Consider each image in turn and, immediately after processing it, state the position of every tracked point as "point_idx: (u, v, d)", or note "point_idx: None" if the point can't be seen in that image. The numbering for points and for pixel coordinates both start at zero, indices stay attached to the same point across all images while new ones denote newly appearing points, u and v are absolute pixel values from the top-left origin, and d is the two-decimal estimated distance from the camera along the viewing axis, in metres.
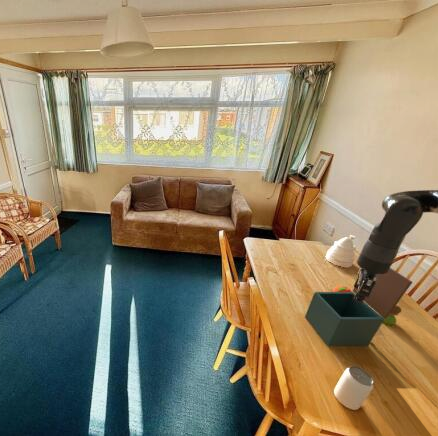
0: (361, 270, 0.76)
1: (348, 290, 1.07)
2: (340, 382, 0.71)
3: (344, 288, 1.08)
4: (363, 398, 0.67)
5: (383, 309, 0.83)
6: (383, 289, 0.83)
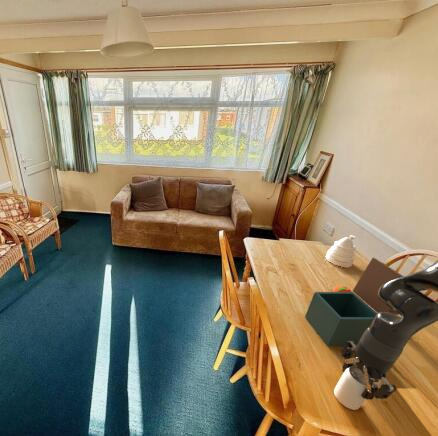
0: (360, 361, 0.66)
1: (348, 290, 1.07)
2: (340, 382, 0.71)
3: (344, 288, 1.08)
4: (363, 398, 0.67)
5: (383, 309, 0.83)
6: None
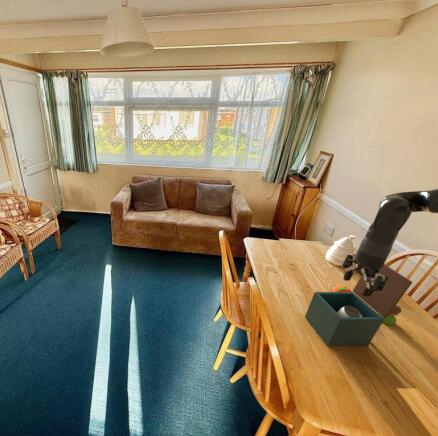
0: (358, 266, 0.82)
1: (348, 290, 1.07)
2: None
3: (344, 288, 1.08)
4: None
5: (383, 309, 0.83)
6: (383, 289, 0.83)
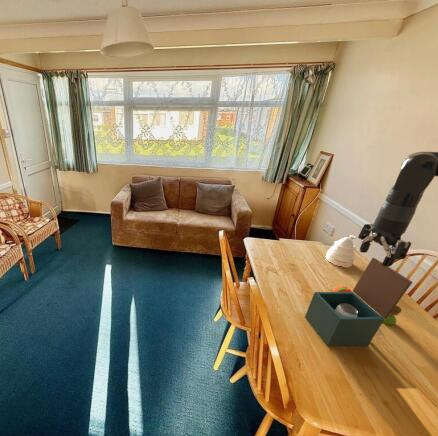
0: (377, 235, 0.77)
1: (348, 290, 1.07)
2: None
3: (344, 288, 1.08)
4: None
5: (383, 309, 0.83)
6: (383, 289, 0.83)
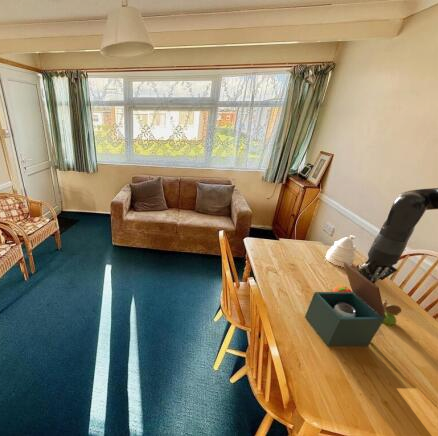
0: None
1: (348, 290, 1.07)
2: None
3: (344, 288, 1.08)
4: None
5: (378, 310, 0.83)
6: (367, 292, 0.84)
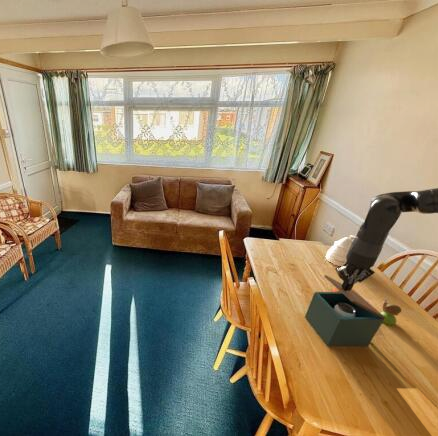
0: None
1: None
2: None
3: None
4: None
5: None
6: (355, 299, 0.85)
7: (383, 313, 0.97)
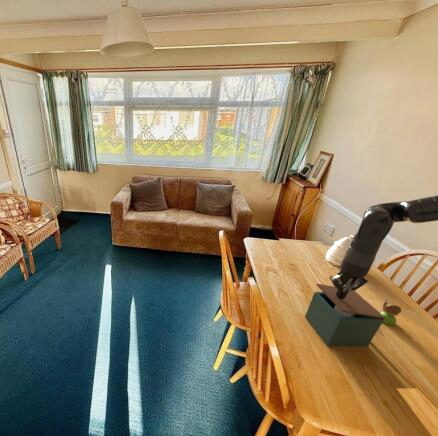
0: None
1: None
2: None
3: None
4: None
5: None
6: None
7: (383, 313, 0.97)
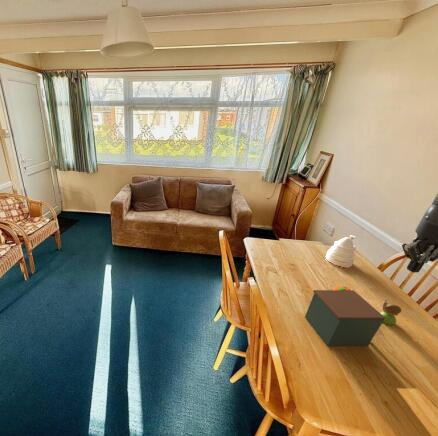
0: None
1: None
2: None
3: (344, 288, 1.08)
4: None
5: None
6: None
7: (383, 313, 0.97)
